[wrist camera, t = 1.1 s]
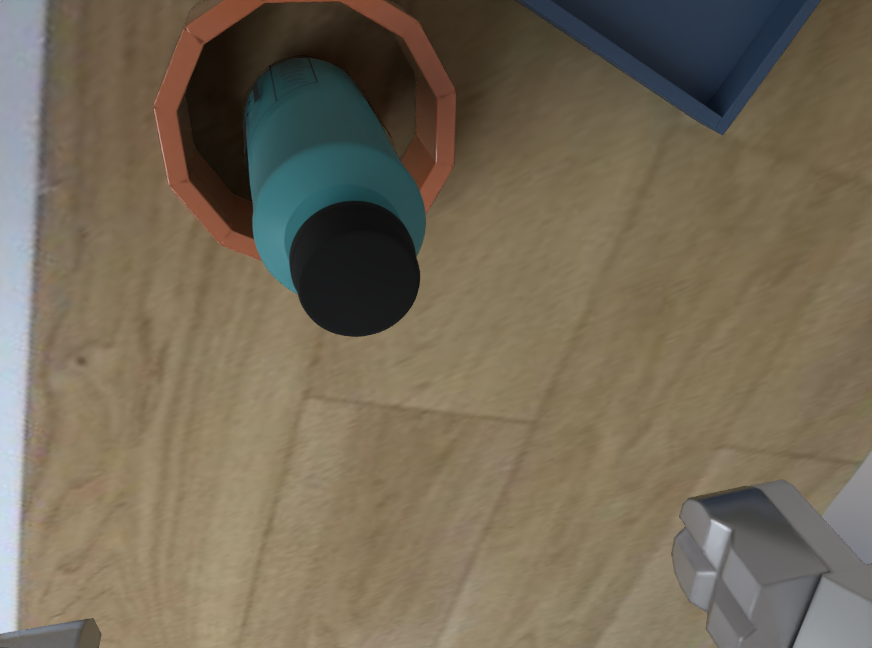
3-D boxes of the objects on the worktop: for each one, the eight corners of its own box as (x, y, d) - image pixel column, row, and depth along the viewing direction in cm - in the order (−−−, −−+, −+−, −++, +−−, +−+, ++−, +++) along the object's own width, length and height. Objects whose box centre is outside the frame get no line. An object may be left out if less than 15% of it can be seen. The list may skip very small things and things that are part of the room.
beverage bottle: (239, 42, 36) (241, 186, 19) (370, 50, 37) (475, 189, 21) (244, 167, 39) (249, 381, 23) (364, 169, 41) (450, 370, 24)
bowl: (127, 168, 38) (114, 204, 34) (231, -97, 33) (230, -93, 29) (361, 264, 44) (374, 304, 40) (479, 53, 39) (507, 74, 35)
